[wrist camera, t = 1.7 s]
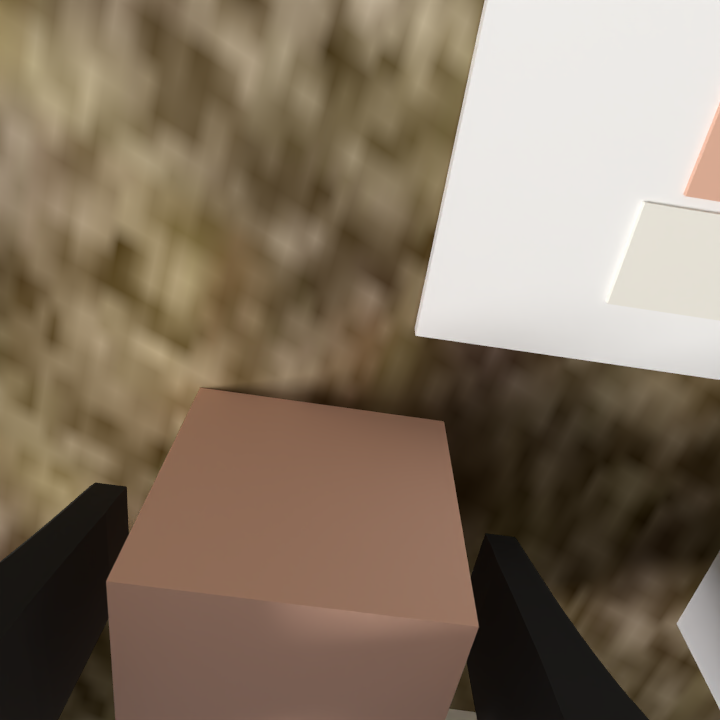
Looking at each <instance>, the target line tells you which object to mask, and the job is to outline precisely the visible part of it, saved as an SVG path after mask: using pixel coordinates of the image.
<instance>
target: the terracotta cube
mask: <svg viewBox="0 0 720 720" xmlns="http://www.w3.org/2000/svg"><path fill="white" fill-rule="evenodd" d="M106 588H107V603H108V617H109V632H110V647H111V662H112V676H113V691H114V706H115V720H445V719H446V716H447V713H448V711H449V708H450V705H451V702H452V700H453V697H454V694H455V691H456V689H457V686H458V683H459V680H460V678H461V675H462V672H463V669H464V667H465V664H466V661H467V658H468V656H469V653H470V650H471V647H472V645H473V642H474V639H475V636H476V633H477V631H478V628H479V624H478V619H477V613H476V607H475V601H474V595H473V589H472V583H471V577H470V571H469V566H468V560H467V554H466V548H465V542H464V536H463V530H462V524H461V519H460V513H459V507H458V501H457V495H456V489H455V483H454V477H453V471H452V466H451V460H450V454H449V448H448V442H447V436H446V430H445V424H444V421H438V420H430V419H423V418H416V417H409V416H402V415H394V414H387V413H380V412H373V411H365V410H358V409H351V408H344V407H337V406H329V405H322V404H315V403H308V402H301V401H293V400H286V399H279V398H272V397H264V396H257V395H250V394H243V393H236V392H228V391H221V390H214V389H207V388H200V389H199V391H198V393H197V395H196V397H195V399H194V401H193V403H192V405H191V407H190V409H189V411H188V414H187V416H186V418H185V420H184V422H183V424H182V426H181V428H180V430H179V432H178V434H177V436H176V438H175V440H174V442H173V444H172V446H171V449H170V451H169V453H168V455H167V457H166V459H165V461H164V463H163V465H162V467H161V469H160V471H159V473H158V475H157V477H156V479H155V481H154V484H153V486H152V488H151V490H150V492H149V494H148V496H147V498H146V500H145V502H144V504H143V506H142V508H141V510H140V512H139V514H138V517H137V519H136V521H135V523H134V525H133V527H132V529H131V531H130V533H129V535H128V537H127V539H126V541H125V543H124V545H123V547H122V549H121V552H120V554H119V556H118V558H117V560H116V562H115V564H114V566H113V568H112V570H111V572H110V574H109V576H108V578H107V580H106Z"/></svg>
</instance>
